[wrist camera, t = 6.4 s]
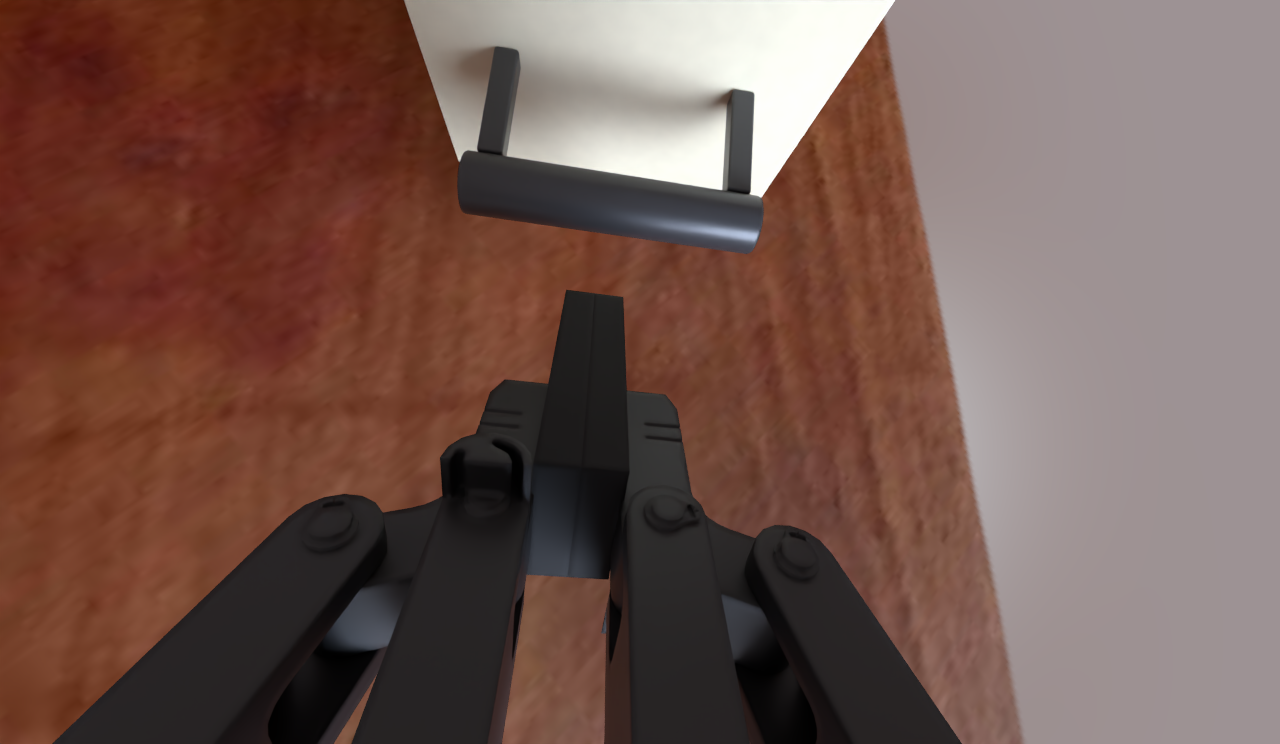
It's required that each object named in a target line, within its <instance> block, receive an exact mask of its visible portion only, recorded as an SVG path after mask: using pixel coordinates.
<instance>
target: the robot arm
mask: <svg viewBox="0 0 1280 744" xmlns="http://www.w3.org/2000/svg"><path fill="white" fill-rule="evenodd" d="M440 463H441V478H442V493H443V496H442V497H440V498H439V499H436V500H434V501H432V502H430V503H427V504H425V505H421V506H417V507H413V508H408V509H402V510H396V511H390V512H385V513H383V512H382V511H381V510H380V508H379V507H378V505H377V504H376V503H375V502H373V501H371V500H369V499H367V498H365V497H363V496H358V495H348V494H342V495H335V496H329V497H324V498H321V499H319V500H316V501H314V502H311V503H309V504H306V505H304V506H303V507H302V508H300V509H299V510H297V511H296V512H295V513H293V514H292V515H291V516H289V517H288V518H287V519H286V520H285V521H284V522H283V523H282V524H281V525H280V526H279V527H277V528H276V529H275V530H274V531H273V532H272V533H271V534H270V535H269V536H268V537H267V538H266V539H265V540H264V541H263V542H262V543H261V544H260V545H259V546H258V547H257V548H256V549H255V550H254V551H252V552H251V553H250V554H249V555H248V556H247V557H246V558H245V559H244V560H243V561H242V562H241V563H240V564H239V565H238V566H237V567H236V568H235V569H234V570H233V571H232V572H231V573H230V574H229V575H227V576H226V577H225V578H224V579H223V580H222V581H221V582H220V583H219V584H218V585H217V586H216V587H215V588H214V589H213V590H212V591H211V592H210V593H209V594H208V595H207V596H206V597H205V598H204V599H203V600H201V601H200V602H199V603H198V604H197V605H196V606H195V607H194V608H193V609H192V610H191V611H190V612H189V613H188V614H187V615H186V616H185V617H184V618H183V619H182V620H181V621H180V622H179V623H178V624H176V625H175V626H174V627H173V628H172V629H171V630H170V631H169V632H168V633H167V634H166V635H165V636H164V637H163V638H162V639H161V640H160V641H159V642H158V643H157V644H156V645H155V646H154V647H153V648H152V649H150V650H149V651H148V652H147V653H146V654H145V655H144V656H143V657H142V658H141V659H140V660H139V661H138V662H137V663H136V664H135V665H134V666H133V667H132V668H131V669H130V670H129V671H128V672H127V673H125V674H124V675H123V676H122V677H121V678H120V679H119V680H118V681H117V682H116V683H115V684H114V685H113V686H112V687H111V688H110V689H109V690H108V691H107V692H106V693H105V694H104V695H103V696H102V697H100V698H99V699H98V700H97V701H96V702H95V703H94V704H93V705H92V706H91V707H90V708H89V709H88V710H87V711H86V712H85V713H84V714H83V715H82V716H81V717H80V718H79V719H78V720H77V721H76V722H74V723H73V724H72V725H71V726H70V727H69V728H68V729H67V730H66V731H65V732H64V733H63V734H62V735H61V736H60V737H59V738H58V739H57V740H56V741H55V742H54V743H53V744H334V742H335V740H336V739H337V737H338V736H339V734H340V732H341V731H342V729H343V728H344V726H345V724H346V723H347V721H348V720H349V718H350V716H351V715H352V713H353V712H354V710H355V708H356V707H357V705H358V704H359V702H360V700H361V699H362V697H363V696H364V694H365V692H366V691H367V689H368V688H369V686H370V684H371V683H372V681H373V680H374V678H375V676H376V675H377V676H376V679H375V682H374V684H373V687H372V690H371V693H370V695H369V698H368V701H367V703H366V706H365V709H364V711H363V714H362V717H361V720H360V722H359V725H358V728H357V730H356V733H355V736H354V738H353V741H352V744H502V738H503V732H504V726H505V719H506V713H507V706H508V700H509V694H510V687H511V681H512V675H513V668H514V662H515V656H516V649H517V643H518V636H519V630H520V624H521V617H522V611H523V605H524V589H525V581H526V575H527V574H528V575H544V576H561V577H578V578H594V579H608V578H609V573H610V594H609V599H608V603H607V608H606V613H605V618H604V623H603V628H602V633H606V675H605V740H604V744H750V743H751V744H962V743H961V742H960V740H959V739H958V737H957V736H956V734H955V733H954V732H953V730H952V729H951V727H950V726H949V724H948V723H947V721H946V720H945V718H944V717H943V716H942V714H941V713H940V711H939V710H938V708H937V707H936V705H935V704H934V702H933V701H932V699H931V698H930V697H929V695H928V694H927V692H926V691H925V689H924V688H923V686H922V685H921V683H920V682H919V680H918V679H917V678H916V676H915V675H914V673H913V672H912V670H911V669H910V667H909V666H908V664H907V663H906V661H905V660H904V659H903V657H902V656H901V654H900V653H899V651H898V650H897V648H896V647H895V645H894V644H893V643H892V641H891V640H890V638H889V637H888V635H887V634H886V632H885V631H884V629H883V628H882V626H881V625H880V624H879V622H878V621H877V619H876V618H875V616H874V615H873V613H872V612H871V610H870V609H869V607H868V606H867V605H866V603H865V602H864V600H863V599H862V597H861V596H860V594H859V593H858V591H857V590H856V589H855V587H854V586H853V584H852V583H851V581H850V580H849V578H848V577H847V575H846V574H845V572H844V571H843V570H842V568H841V567H840V565H839V564H838V562H837V561H836V559H835V558H834V556H833V555H832V553H831V552H830V551H829V550H828V549H827V548H826V547H825V546H824V545H823V544H822V542H821V541H820V540H818V539H817V538H815V537H814V536H812V535H811V534H809V533H807V532H806V531H804V530H801V529H798V528H795V527H792V526H782V525H774V526H772V527H769V528H766V529H763V530H762V531H761V533H760V534H759V535H758V536H757V537H756V538H753V537H750V536H747V535H744V534H741V533H739V532H736V531H733V530H730V529H728V528H725V527H723V526H721V525H719V524H717V523H716V522H714V521H713V520H711V519H710V518H708V517H707V516H706V515H705V513H704V511H703V508H702V506H701V505H700V504H699V502H698V501H697V500H696V499H695V498H694V497H693V496H692V493H691V488H690V482H689V476H688V470H687V465H686V459H685V453H684V447H683V442H682V436H681V430H680V424H679V418H678V412H677V409H676V408H675V406H674V405H673V404H672V402H671V401H670V400H669V399H668V397H667V396H666V395H663V394H654V393H644V392H635V391H627V387H626V360H625V334H624V307H623V297H618V296H610V295H602V294H595V293H587V292H579V291H571V290H566V294H565V299H564V305H563V310H562V315H561V320H560V326H559V331H558V336H557V341H556V347H555V352H554V357H553V362H552V368H551V373H550V378H549V383H548V384H543V383H534V382H524V381H515V380H504V381H503V382H502V383H500V384H499V385H498V386H497V387H496V388H495V389H494V390H492V391H491V392H490V395H489V397H488V400H487V403H486V406H485V410H484V412H483V414H482V417H481V420H480V425H479V426H478V429H477V432H476V434H474V435H470V436H467V437H463V438H461V439H459V440H458V441H456V442H455V443H453V444H451V445H450V446H448V448H447V449H446V450H445V452H444V453H443V454H442V456H441V457H440ZM377 673H378V674H377ZM749 741H750V742H749Z"/></svg>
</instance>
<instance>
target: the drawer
mask: <svg viewBox="0 0 1280 744" xmlns="http://www.w3.org/2000/svg"><path fill="white" fill-rule="evenodd" d="M894 1H895V0H404V2H405V5H406V8H407V11H408V14H409V17H410V19H411V22H412V25H413V28H414V31H415V34H416V37H417V40H418V43H419V46H420V49H421V52H422V55H423V58H424V61H425V64H426V67H427V70H428V73H429V76H430V78H431V81H432V84H433V87H434V90H435V93H436V96H437V99H438V102H439V105H440V108H441V111H442V114H443V117H444V120H445V123H446V126H447V129H448V132H449V135H450V137H451V140H452V143H453V146H454V149H455V152H456V155H457V158H458V161H459V162H460V164H459V169H458V182H457V189H458V199H459V204H460V208H461V210H462V211H463V212H464V213H466V214H472V215H479V216H486V217H493V218H500V219H507V220H514V221H520V222H527V223H534V224H541V225H548V226H555V227H562V228H569V229H576V230H583V231H590V232H597V233H604V234H611V235H618V236H625V237H632V238H639V239H646V240H653V241H660V242H667V243H674V244H681V245H688V246H695V247H702V248H709V249H716V250H723V251H730V252H737V253H744V254H748V253H750V252H751V251H752V250H753V249H754V247H755V245H756V243H757V241H758V238H759V235H760V232H761V228H762V222H763V201H762V199H761V197H762V196H763V194H764V193H765V191H766V190H767V188H768V187H769V185H770V184H771V182H772V181H773V179H774V178H775V177H776V175H777V174H778V172H779V171H780V169H781V168H782V166H783V165H784V163H785V162H786V160H787V159H788V157H789V156H790V154H791V153H792V151H793V150H794V149H795V147H796V146H797V144H798V143H799V141H800V140H801V138H802V137H803V135H804V134H805V132H806V131H807V129H808V128H809V126H810V125H811V124H812V122H813V121H814V119H815V118H816V116H817V115H818V113H819V112H820V110H821V109H822V107H823V106H824V104H825V103H826V101H827V100H828V98H829V97H830V96H831V94H832V93H833V91H834V90H835V88H836V87H837V85H838V84H839V82H840V81H841V79H842V78H843V76H844V75H845V73H846V72H847V71H848V69H849V68H850V66H851V65H852V63H853V62H854V60H855V59H856V57H857V56H858V54H859V53H860V51H861V50H862V48H863V47H864V45H865V44H866V43H867V41H868V40H869V38H870V37H871V35H872V34H873V32H874V31H875V29H876V28H877V26H878V25H879V23H880V22H881V20H882V19H883V18H884V16H885V15H886V13H887V12H888V10H889V9H890V7H891V6H892V4H893V3H894Z"/></svg>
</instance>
